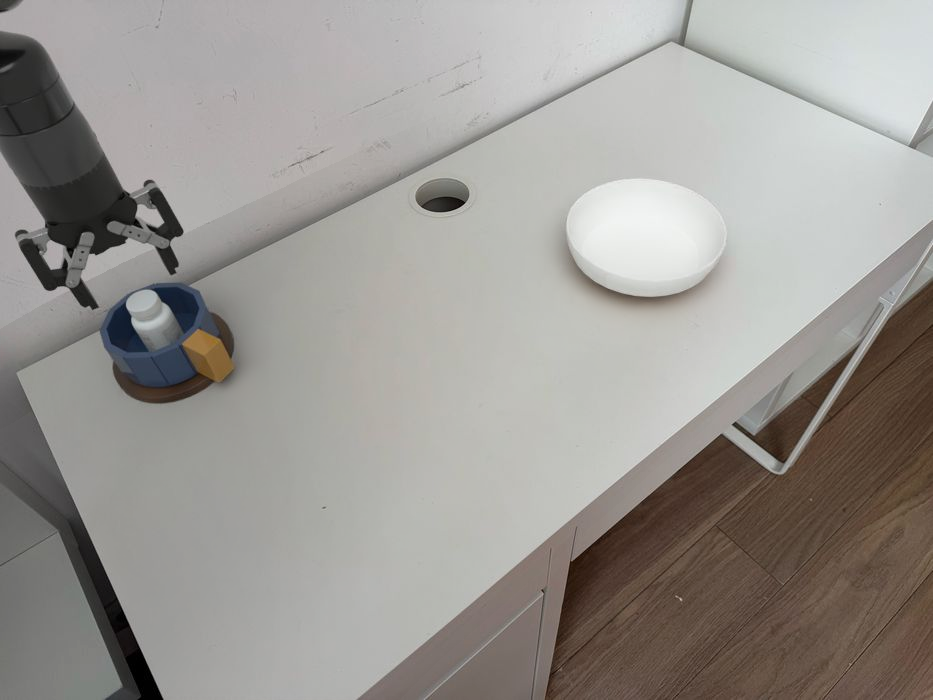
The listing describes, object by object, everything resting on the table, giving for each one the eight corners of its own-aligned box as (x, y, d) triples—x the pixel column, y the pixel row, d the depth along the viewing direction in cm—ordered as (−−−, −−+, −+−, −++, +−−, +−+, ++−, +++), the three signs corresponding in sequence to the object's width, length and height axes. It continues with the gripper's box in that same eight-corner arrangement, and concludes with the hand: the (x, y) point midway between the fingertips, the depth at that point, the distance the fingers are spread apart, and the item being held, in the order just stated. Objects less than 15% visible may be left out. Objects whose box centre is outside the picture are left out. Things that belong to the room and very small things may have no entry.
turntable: (138, 424, 77) (133, 418, 76) (102, 348, 85) (98, 342, 84) (252, 364, 82) (249, 358, 81) (209, 298, 90) (205, 291, 89)
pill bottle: (186, 327, 83) (160, 281, 77) (188, 353, 81) (162, 308, 75) (149, 337, 83) (120, 292, 77) (150, 363, 80) (120, 319, 74)
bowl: (740, 247, 90) (752, 209, 86) (675, 341, 81) (685, 304, 76) (608, 197, 98) (612, 161, 94) (535, 277, 89) (536, 241, 84)
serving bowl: (100, 364, 81) (78, 334, 77) (172, 301, 87) (155, 270, 83) (192, 414, 76) (173, 384, 72) (261, 343, 82) (248, 312, 78)
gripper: (-18, 210, 57) (76, 338, 70) (148, 148, 62) (208, 277, 75) (-34, 169, 62) (58, 296, 74) (123, 114, 66) (184, 242, 79)
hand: (133, 287), depth 74 cm, fingers open, 8 cm apart
